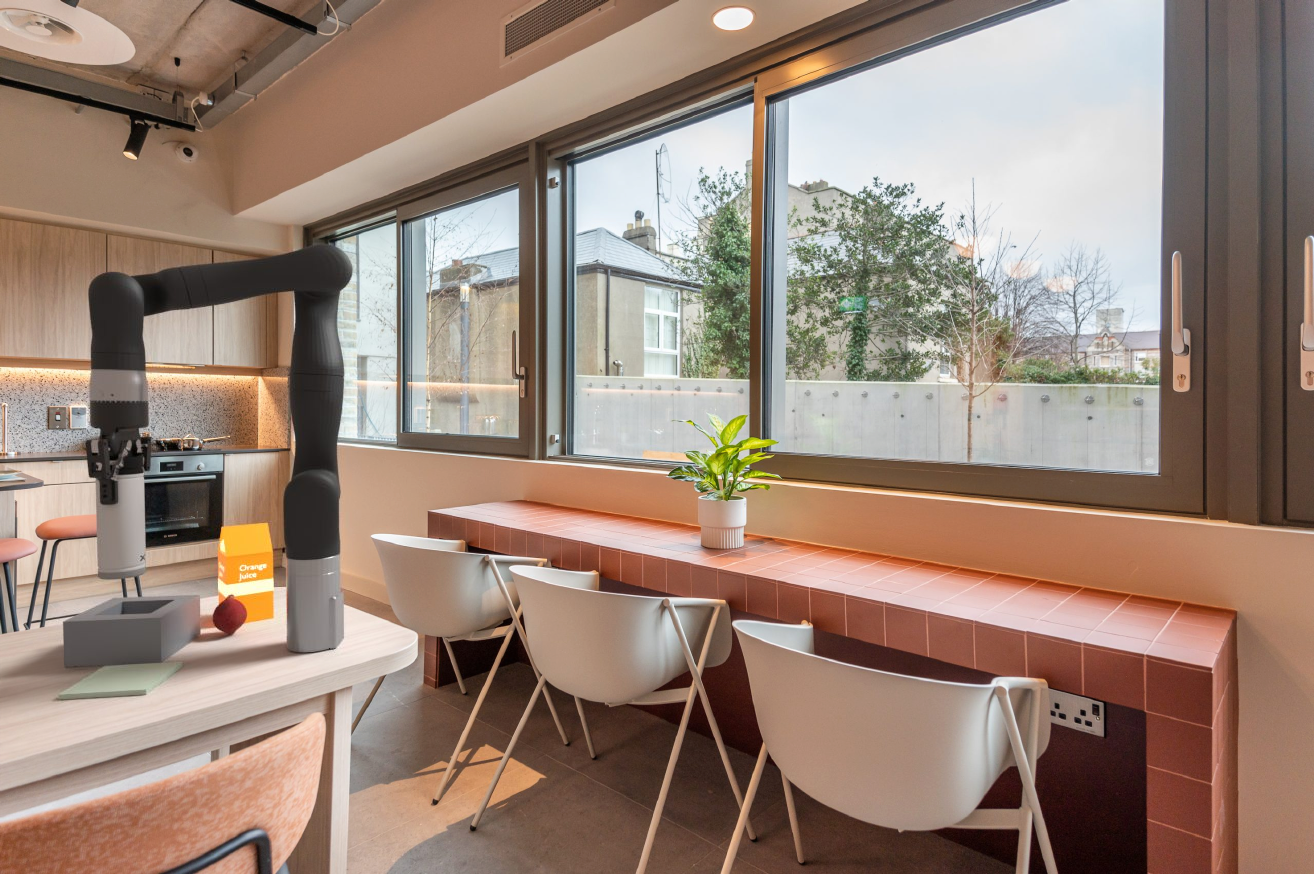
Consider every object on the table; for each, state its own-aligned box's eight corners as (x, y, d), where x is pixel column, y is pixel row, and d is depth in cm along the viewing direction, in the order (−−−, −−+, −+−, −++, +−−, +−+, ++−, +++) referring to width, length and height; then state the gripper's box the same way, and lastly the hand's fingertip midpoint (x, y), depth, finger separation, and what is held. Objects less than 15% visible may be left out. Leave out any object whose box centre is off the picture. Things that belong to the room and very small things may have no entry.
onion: (230, 640, 134) (230, 599, 133) (205, 637, 135) (204, 597, 135) (254, 630, 139) (253, 591, 139) (229, 628, 141) (228, 589, 140)
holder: (200, 634, 137) (199, 594, 136) (161, 662, 122) (160, 617, 122) (114, 638, 134) (113, 597, 133) (64, 667, 119) (63, 621, 119)
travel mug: (156, 572, 115) (154, 452, 114) (111, 581, 109) (108, 455, 108) (135, 568, 118) (132, 451, 117) (89, 577, 112) (86, 453, 111)
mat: (183, 666, 120) (183, 661, 120) (146, 694, 109) (146, 689, 109) (104, 670, 118) (104, 665, 118) (58, 699, 106) (58, 694, 106)
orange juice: (218, 617, 148) (216, 524, 147) (264, 609, 154) (263, 520, 153) (226, 626, 142) (225, 529, 141) (274, 618, 148) (273, 525, 147)
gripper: (119, 398, 106) (121, 507, 106) (168, 399, 120) (170, 495, 121) (63, 398, 104) (66, 508, 105) (119, 399, 119) (121, 496, 119)
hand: (121, 501), depth 113 cm, fingers closed on travel mug, 6 cm apart
